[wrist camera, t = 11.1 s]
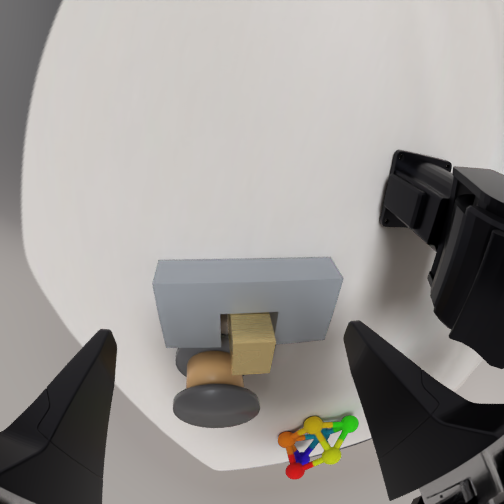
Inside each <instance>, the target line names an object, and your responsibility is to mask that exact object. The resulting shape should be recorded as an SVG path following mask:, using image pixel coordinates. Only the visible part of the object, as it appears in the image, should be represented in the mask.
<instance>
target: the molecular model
mask: <svg viewBox="0 0 504 504" xmlns="http://www.w3.org/2000/svg"><path fill="white" fill-rule="evenodd" d="M358 424H359V422H358V419H357V418H356V417H355V416H351V415H349V416H346V417H344V418H343V419H342V420H341V422H322V420H321V419H320V418H319V417H316V416H312V417H309V418H308V419H306V421H305V422H304V428H302V429H300V430H298V431H297V432H295V433H292V432H283V433H281V434H280V435H279V437H278V443H279V445H280V446H281V447H283V448H286V450H287V454H288V458H289V462H290V465H288V466H287V468H286V475H287V476H288V477H289V478H290V479H299V478H301V477H302V476H303V475H304V472H305V470H307V469H309V468H312V467H314V466H317V465H319V464H321V463H326V464H335V463H337V462H338V461H339V460H340V458H341V452H340V450H339V448H340V446H341V445H342V443H343V441H344V439H345V437H346V436H347V434H348V433H351V432H353V431H355V430H356V429H357V427H358ZM327 428H331V429H327ZM341 430H342V433H341V434H340V436H339V438H338V440H337V441H336V443H335V445H334V447H330V445H329V443H328V441H327V440H328V438H329V436H330V434H333V433H335V432H338V431H341ZM305 433H309V434H306V435H303V434H305ZM309 439H314V440H313V442H312V443H311V444H310V445H309V447H308V448H307V449H306V450H305V452H300V453H299V451H298V450H297V448H296V447H295V446H294V444H295V442H296V441H302V440H309ZM318 443H320V444H321V445H322V447H323V449H324V452H323V453H322V457H321V458H319V459H316V460H314V461H312V462H309V461H310V457H309V454H310V453H311V451H312V450H313V449H314V448H315V446H316V445H317V444H318Z"/></svg>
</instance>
